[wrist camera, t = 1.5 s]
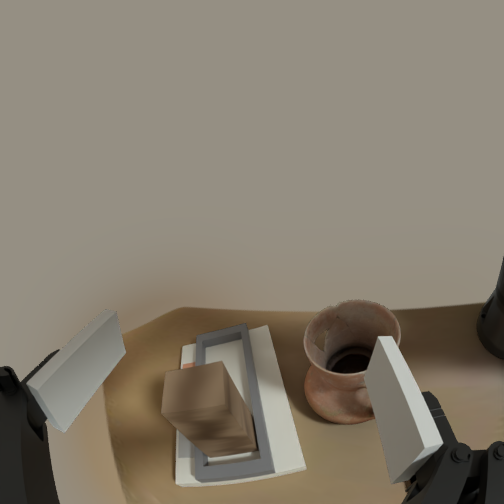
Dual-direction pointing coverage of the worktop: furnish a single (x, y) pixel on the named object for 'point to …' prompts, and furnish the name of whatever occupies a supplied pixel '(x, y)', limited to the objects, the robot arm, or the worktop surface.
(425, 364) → the worktop surface
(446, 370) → the worktop surface
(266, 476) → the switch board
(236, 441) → the slider
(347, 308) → the ceramic jug
